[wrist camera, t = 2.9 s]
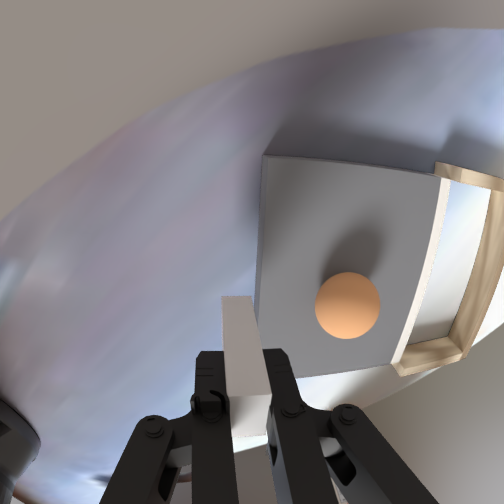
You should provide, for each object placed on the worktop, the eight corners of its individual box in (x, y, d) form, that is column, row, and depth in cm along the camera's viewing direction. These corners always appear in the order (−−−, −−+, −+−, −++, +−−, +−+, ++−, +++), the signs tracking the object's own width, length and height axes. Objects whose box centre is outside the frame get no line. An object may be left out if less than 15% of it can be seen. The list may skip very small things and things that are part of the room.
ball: (303, 316, 20) (321, 356, 16) (311, 261, 18) (334, 295, 14) (356, 312, 20) (381, 347, 17) (368, 260, 19) (399, 290, 15)
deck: (250, 364, 23) (253, 381, 22) (262, 154, 17) (268, 158, 15) (389, 348, 25) (398, 362, 23) (434, 174, 19) (450, 179, 17)
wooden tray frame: (386, 356, 25) (400, 377, 23) (435, 161, 19) (462, 168, 16) (450, 342, 27) (465, 358, 24) (499, 177, 20) (522, 185, 17)
